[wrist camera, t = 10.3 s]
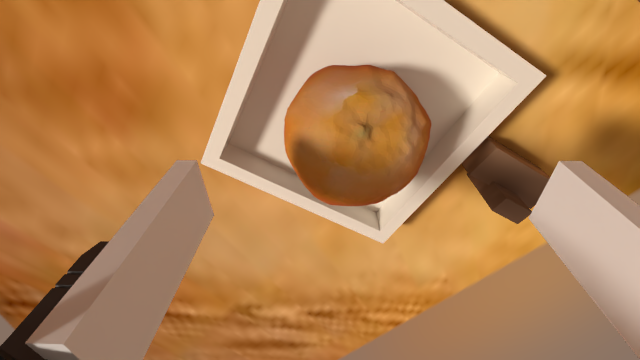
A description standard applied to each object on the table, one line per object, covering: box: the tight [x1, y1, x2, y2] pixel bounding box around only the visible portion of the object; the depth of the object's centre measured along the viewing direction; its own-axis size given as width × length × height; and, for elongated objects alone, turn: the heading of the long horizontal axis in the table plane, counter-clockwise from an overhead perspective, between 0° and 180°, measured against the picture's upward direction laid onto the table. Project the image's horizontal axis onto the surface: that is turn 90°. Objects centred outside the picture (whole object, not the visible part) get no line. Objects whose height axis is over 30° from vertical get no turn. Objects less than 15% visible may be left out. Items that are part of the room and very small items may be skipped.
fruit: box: [284, 65, 431, 206], centre depth 18 cm, size 8×8×8 cm
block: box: [461, 0, 640, 224], centre depth 17 cm, size 16×6×4 cm, turn 151°
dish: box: [201, 0, 546, 243], centre depth 19 cm, size 15×15×3 cm
